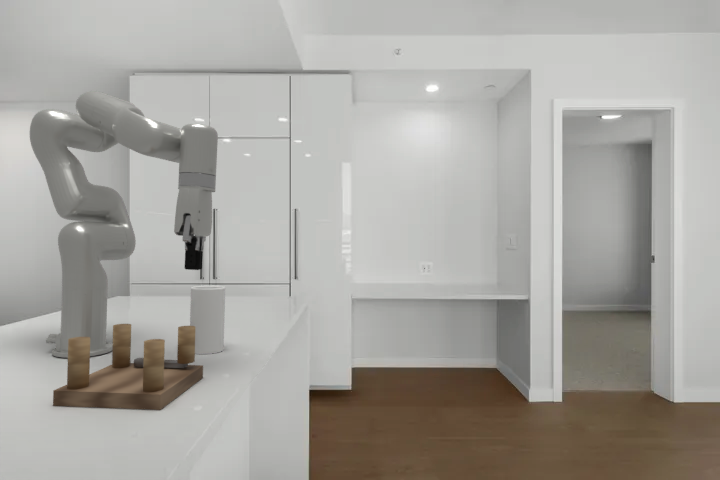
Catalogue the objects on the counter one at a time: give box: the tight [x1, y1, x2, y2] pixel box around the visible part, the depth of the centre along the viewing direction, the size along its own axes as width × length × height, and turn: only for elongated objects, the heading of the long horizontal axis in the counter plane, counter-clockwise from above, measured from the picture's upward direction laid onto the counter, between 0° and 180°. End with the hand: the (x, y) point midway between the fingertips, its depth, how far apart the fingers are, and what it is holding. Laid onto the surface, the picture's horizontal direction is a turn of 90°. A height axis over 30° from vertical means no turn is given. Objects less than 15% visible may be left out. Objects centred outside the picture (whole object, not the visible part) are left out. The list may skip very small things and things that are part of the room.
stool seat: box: [52, 323, 204, 411], centre depth 84 cm, size 18×18×11 cm
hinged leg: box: [133, 325, 196, 368], centre depth 91 cm, size 12×3×8 cm, turn 88°
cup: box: [189, 285, 226, 355], centre depth 116 cm, size 8×8×16 cm
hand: (193, 269), depth 99 cm, fingers closed
